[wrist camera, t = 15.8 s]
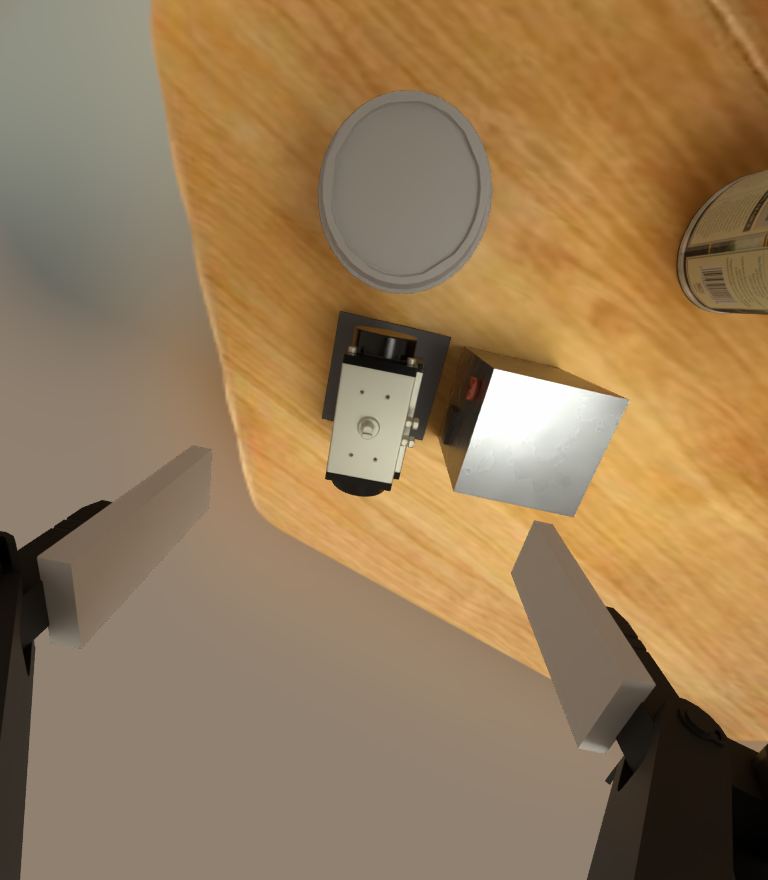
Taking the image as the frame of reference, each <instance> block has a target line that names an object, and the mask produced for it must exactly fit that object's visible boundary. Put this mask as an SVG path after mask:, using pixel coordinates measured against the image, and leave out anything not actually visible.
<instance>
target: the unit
mask: <svg viewBox="0 0 768 880" xmlns="http://www.w3.org/2000/svg"><path fill="white" fill-rule="evenodd" d="M629 401H630V400H628V399H626V398H624V397H622V396H620V395H617V394H615V393H613V392H611V391H609V390H606V389H604V388H602V387H600V386H597V385H595V384H593V383H591V382H589V381H586V380H584V379H582V378H580V377H578V376H575V375H573V374H571V373H569V372H566V371H564V370H562V369H560V368H556V367H551V366H547V365H543V364H539V363H534V362H530V361H526V360H521V359H517V358H513V357H509V356H504V355H500V354H496V353H491V352H487V351H483V350H479V349H474V348H470V347H466V346H465V347H464V351H463V354H462V357H461V361H460V364H459V367H458V371H457V374H456V378H455V381H454V384H453V388H452V391H451V395H450V398H449V401H448V405H447V408H446V411H445V415H444V418H443V422H442V425H441V428H440V432H439V435H438V439H439V442H440V446H441V449H442V453H443V456H444V460H445V463H446V467H447V470H448V474H449V477H450V481H451V484H452V488H453V491H454V492H458V493H462V494H467V495H472V496H476V497H481V498H486V499H490V500H495V501H500V502H504V503H509V504H514V505H518V506H523V507H528V508H533V509H537V510H542V511H547V512H551V513H556V514H561V515H565V516H570V517H574V515H575V513H576V511H577V509H578V507H579V505H580V502H581V500H582V498H583V496H584V494H585V492H586V490H587V488H588V486H589V484H590V482H591V480H592V478H593V475H594V473H595V471H596V469H597V467H598V465H599V463H600V461H601V459H602V457H603V455H604V453H605V451H606V449H607V446H608V444H609V442H610V440H611V438H612V436H613V434H614V432H615V430H616V428H617V426H618V424H619V422H620V419H621V417H622V415H623V413H624V411H625V409H626V407H627V405H628V403H629Z"/></svg>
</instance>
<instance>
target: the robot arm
mask: <svg viewBox="0 0 768 880" xmlns="http://www.w3.org/2000/svg"><path fill="white" fill-rule="evenodd" d="M211 462H212V449H207V448H203V447H198V446H194V445H192V446H191V447H190V448H188V449H187V450H185V451H184V452H183V453H181V454H180V455H178V456H177V457H176V458H174V459H173V460H171V461H170V462H169V463H167V464H166V465H164V466H163V467H162V468H160V469H159V470H157V471H156V472H155V473H153V474H152V475H150V476H149V477H148V478H146V479H145V480H144V481H142V482H141V483H139V484H138V485H137V486H135V487H134V488H132V489H131V490H129V491H128V492H127V493H125V494H124V495H123V496H121V497H120V498H118V499H117V500H115V501H114V502H109V501H104V500H101V501H99V502H96V503H93V504H90V505H88V506H85V507H83V508H81V509H79V510H78V511H77V512H75V513H74V514H72V515H71V516H69V517H67V520H63V521H62V522H60V523H58V524H57V525H55V526H54V528H53V529H52V528H51V529H50V530H48V531H47V532H45V533H43V534H42V535H40V536H39V537H37V538H36V539H34V540H33V541H32V542H30V543H28V544H27V545H25V546H24V547H22V548H21V549H19V550H18V551H17V547H16V542H15V539H14V536H13V535H11V534H9V533H7V532H2V531H0V880H20V871H21V857H22V841H23V825H24V810H25V796H26V780H27V765H28V751H29V735H30V719H31V705H32V689H33V675H34V660H35V645H34V639H35V638H36V637H37V636H38V635H39V634H40V633H42V632H43V631H44V630H45V629H46V628H47V627H48V629H49V636H50V641H51V643H53V644H58V645H63V646H68V647H73V648H78V649H82V648H83V647H84V645H85V644H86V643H87V642H88V641H89V640H90V639H91V638H92V637H93V636H94V635H95V633H96V632H97V631H98V630H99V629H100V628H101V627H102V626H103V625H104V624H105V622H106V621H107V620H108V619H109V618H110V617H111V616H112V615H113V613H115V611H116V610H117V609H118V608H119V607H120V606H121V605H122V604H123V603H124V601H125V600H126V599H127V598H128V597H129V596H130V595H131V594H132V593H133V592H134V591H135V589H136V588H137V587H138V586H139V585H140V584H141V583H142V582H143V581H144V580H145V578H146V577H147V576H148V575H149V574H150V573H151V572H152V571H153V569H155V567H156V566H157V565H158V564H159V563H160V562H161V561H162V560H163V559H164V557H165V556H166V555H167V554H168V553H169V552H170V551H171V550H172V549H173V547H174V546H175V545H176V544H177V543H178V542H179V541H180V540H181V539H182V538H183V537H184V535H185V534H186V533H187V532H188V531H189V530H190V529H191V528H192V527H193V526H194V524H195V523H196V522H197V521H198V520H199V519H200V518H201V517H202V516H203V515H204V513H205V512H206V511H207V510H208V509H209V500H210V481H211ZM511 575H512V577H513V580H514V582H515V585H516V588H517V590H518V593H519V595H520V598H521V601H522V603H523V606H524V609H525V611H526V614H527V616H528V619H529V622H530V624H531V627H532V629H533V632H534V635H535V637H536V640H537V642H538V645H539V648H540V650H541V653H542V655H543V658H544V661H545V663H546V666H547V668H548V671H549V674H550V676H551V679H552V681H553V684H554V687H555V689H556V692H557V694H558V697H559V700H560V702H561V705H562V707H563V710H564V713H565V715H566V718H567V720H568V723H569V726H570V728H571V731H572V734H573V736H574V739H575V741H576V744H577V747H578V748H580V749H585V750H590V751H595V752H600V753H607V751H608V750H609V748H610V747H611V746H612V744H613V743H614V742H615V740H616V739H617V742H618V744H619V746H620V748H621V750H622V752H623V754H624V756H623V758H622V759H621V760H620V762H619V763H618V764H617V765H616V767H615V768H614V769H613V771H612V772H611V773H610V775H609V776H608V777H607V779H606V780H605V781H606V782H607V783H608V784H611V782H612V781H613V784H612V788H611V792H610V796H609V799H608V803H607V807H606V810H605V814H604V818H603V822H602V825H601V829H600V833H599V836H598V840H597V844H596V848H595V851H594V855H593V859H592V863H591V866H590V870H589V874H588V878H587V880H768V744H767V745H766V746H765V747H764V748H763V749H762V750H761V751H760V752H759V753H758V752H756V751H754V750H752V749H750V748H748V747H745V746H744V745H741V744H739V743H737V742H735V741H733V740H731V739H729V738H727V736H726V735H725V733H724V732H723V730H722V729H721V727H720V726H719V725H718V724H717V723H716V722H715V721H714V720H713V719H712V718H711V716H709V715H708V714H707V713H706V712H704V711H703V710H702V709H701V708H699V707H698V706H697V705H695V704H693V703H691V702H689V701H688V700H686V699H683V698H679V696H678V695H677V693H676V692H675V690H674V689H673V687H672V686H671V685H670V683H669V682H668V680H667V679H666V677H665V676H664V674H663V673H662V671H661V670H660V668H659V667H658V665H657V664H656V663H655V661H654V660H653V658H652V657H651V655H650V654H649V652H646V648H645V646H644V645H643V644H642V642H641V641H640V640H638V636H637V635H636V633H635V632H634V630H633V629H632V627H631V626H630V625H629V623H628V622H627V621H626V620H625V619H624V618H623V617H622V616H621V615H620V614H619V613H618V612H617V611H616V610H615V609H614V608H611V607H606V606H605V605H604V603H603V602H602V600H601V599H600V597H599V596H598V594H597V593H596V591H595V590H594V588H593V586H592V585H591V583H590V582H589V580H588V579H587V577H586V576H585V574H584V572H583V571H582V569H581V568H580V566H579V565H578V563H577V562H576V560H575V559H574V557H573V555H572V554H571V552H570V551H569V549H568V548H567V546H566V545H565V543H564V542H563V540H562V538H561V537H560V535H559V534H558V532H557V531H556V529H555V528H554V526H553V524H548V523H544V522H539V521H535V520H534V522H533V524H532V527H531V529H530V531H529V533H528V536H527V538H526V540H525V542H524V545H523V547H522V549H521V551H520V554H519V556H518V558H517V561H516V563H515V565H514V567H513V570H512V572H511Z"/></svg>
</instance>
